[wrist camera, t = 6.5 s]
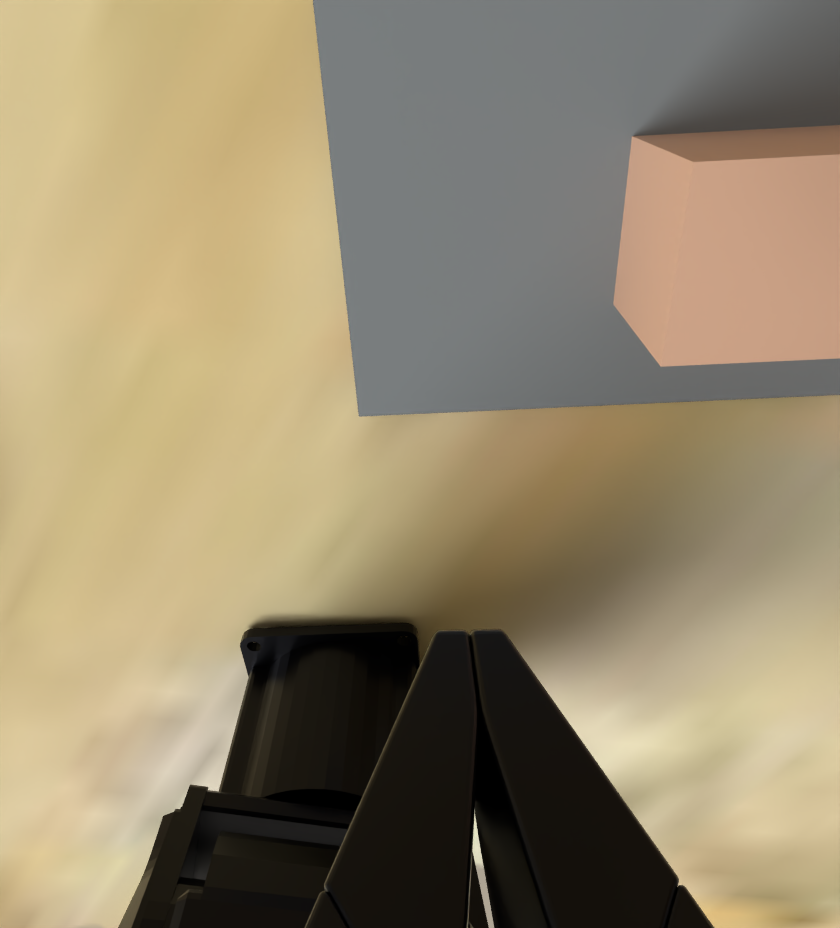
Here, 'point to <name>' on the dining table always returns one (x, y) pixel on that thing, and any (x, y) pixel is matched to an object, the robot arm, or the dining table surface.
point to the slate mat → (538, 185)
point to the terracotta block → (733, 246)
